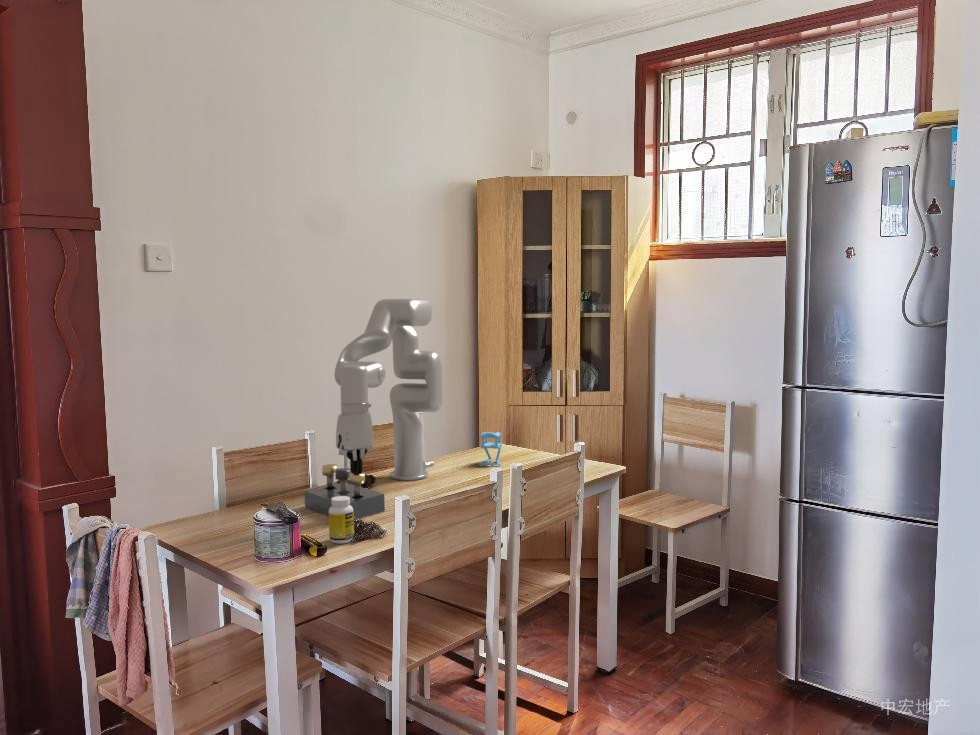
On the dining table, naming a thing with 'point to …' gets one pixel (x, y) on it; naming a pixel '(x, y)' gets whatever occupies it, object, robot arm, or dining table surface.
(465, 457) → the dining table surface
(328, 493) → the mount
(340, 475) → the knob middle
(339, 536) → the pill bottle
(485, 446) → the chair
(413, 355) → the robot arm
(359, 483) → the knob
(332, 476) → the knob
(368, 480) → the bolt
